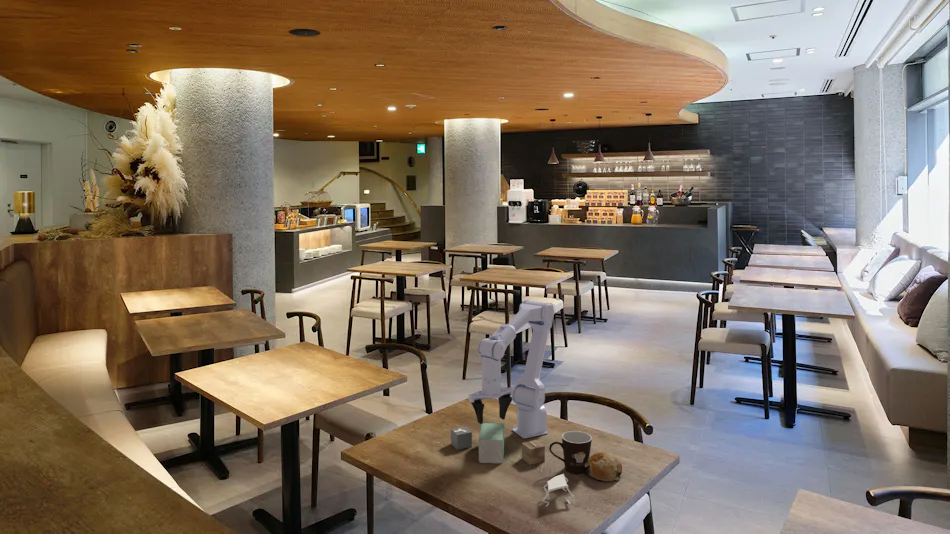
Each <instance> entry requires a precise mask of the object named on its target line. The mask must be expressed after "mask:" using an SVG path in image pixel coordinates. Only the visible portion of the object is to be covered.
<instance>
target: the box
mask: <svg viewBox="0 0 950 534" xmlns="http://www.w3.org/2000/svg"><path fill="white" fill-rule="evenodd" d="M480 425H481V426H480V430H479V431H480V432H479V435H478V436H479V437H478V462H479V463H480V464H502V463H503V462H504V453H505V451H504V450H505V424H504V423H497V422H496V423H495V422H493V423H492V422H491V423H490V422H483V424H480Z"/></svg>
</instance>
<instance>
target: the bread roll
mask: <svg viewBox="0 0 950 534" xmlns="http://www.w3.org/2000/svg"><path fill="white" fill-rule="evenodd" d="M622 465H623V463H621V461H620V458H618V457H617V456H615V454H614V453H611V452H607V451H601V452H595V453H593V454H591V455H590V456H589V458H588V460H587V463H586V464H585V468H586V470H587V472H586V473H587V474H588V475H589V476H590V477H591V478H593V479H594V480H597V481H602V482H603V481H604V482H614V480H616V482H617V481H618V480H620V477H621V476H622V473H623V466H622Z"/></svg>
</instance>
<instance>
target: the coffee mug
mask: <svg viewBox="0 0 950 534" xmlns="http://www.w3.org/2000/svg"><path fill="white" fill-rule="evenodd" d="M561 440H562V441H561V442H560V441H554V442H552V443H550V445H549V447H548V449H549V452H550V453H551V455H552V456H554V457H555V458H557V459H558V460H560V461H562V462H563V463H564V470H565V472H567V473H569V474H571V475H576V476H579V475H580V474H581V475H585V474H586V473H587V470H586V468H585V464H586V463H587V460H588V458H589V457H590V456H591V455H590V453H591V448H592V440H593V438H592V435H591V434H589V433H588V432H585V431H580V430H569V431H565V432H563V433H562V434H561ZM554 445H559V446H560V447H561V449H562V452H563V458H562V457H560V456H559V455H557V454H555V453H554V451H552V447H553V446H554ZM584 473H585V474H584Z"/></svg>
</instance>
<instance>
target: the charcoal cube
mask: <svg viewBox="0 0 950 534" xmlns="http://www.w3.org/2000/svg"><path fill="white" fill-rule="evenodd" d="M472 434H473V433H472V431H471V430H470V429H469V428H468V427H466V426H461V427H456V428H451V429H450V445H451V446H453V448H454V449H456V450H457V451H459V449H460V450H463V448H465V449H467V448H472V447H473V446H472V445H473V435H472Z"/></svg>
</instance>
